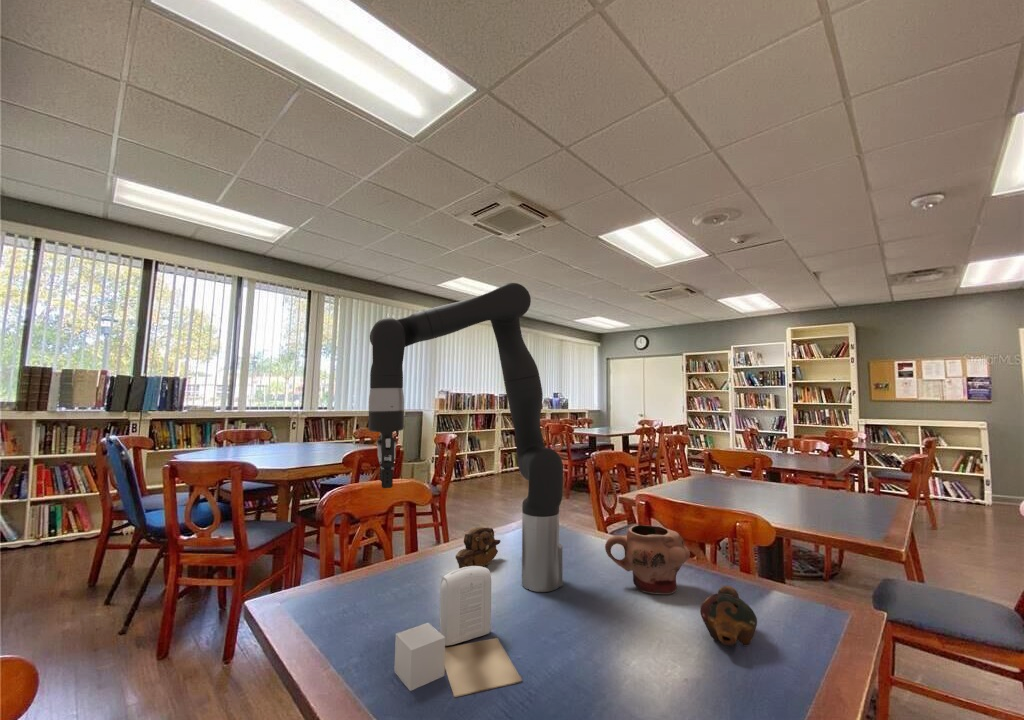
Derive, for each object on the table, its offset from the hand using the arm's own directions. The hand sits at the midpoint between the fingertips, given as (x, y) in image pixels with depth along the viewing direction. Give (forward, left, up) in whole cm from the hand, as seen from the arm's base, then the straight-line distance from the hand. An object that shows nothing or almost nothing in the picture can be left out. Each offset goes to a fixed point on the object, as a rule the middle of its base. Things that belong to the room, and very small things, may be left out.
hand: (385, 484), depth 92 cm
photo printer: (-15, +15, -27) cm, 34 cm away
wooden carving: (-27, -18, -27) cm, 42 cm away
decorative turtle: (-62, +32, -27) cm, 74 cm away
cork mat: (-15, +24, -27) cm, 39 cm away
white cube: (-5, +23, -27) cm, 36 cm away
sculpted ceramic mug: (-62, +8, -27) cm, 68 cm away
